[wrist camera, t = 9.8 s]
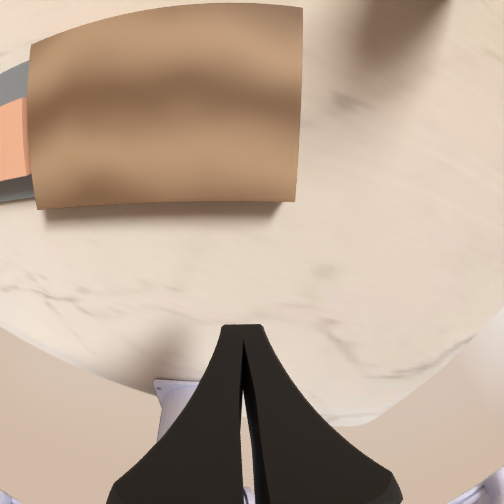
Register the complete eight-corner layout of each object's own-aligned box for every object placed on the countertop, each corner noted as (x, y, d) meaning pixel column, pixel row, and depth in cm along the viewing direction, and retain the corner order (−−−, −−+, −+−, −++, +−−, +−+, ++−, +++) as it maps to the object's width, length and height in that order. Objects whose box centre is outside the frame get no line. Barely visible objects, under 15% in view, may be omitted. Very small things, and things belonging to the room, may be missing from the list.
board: (288, 192, 17) (294, 202, 15) (52, 200, 16) (37, 210, 14) (295, 18, 12) (302, 7, 10) (47, 48, 11) (31, 45, 9)
